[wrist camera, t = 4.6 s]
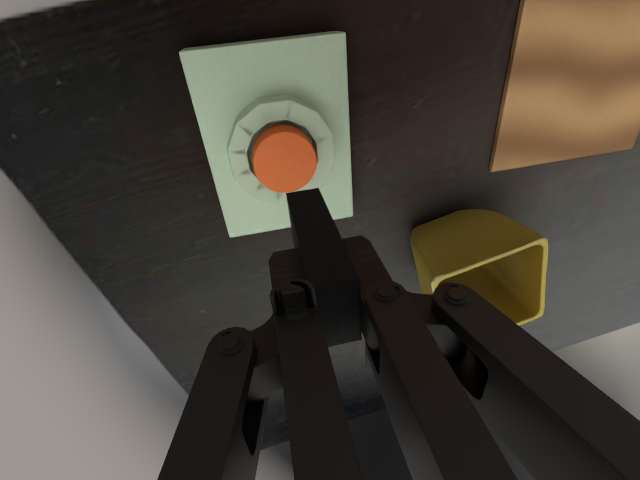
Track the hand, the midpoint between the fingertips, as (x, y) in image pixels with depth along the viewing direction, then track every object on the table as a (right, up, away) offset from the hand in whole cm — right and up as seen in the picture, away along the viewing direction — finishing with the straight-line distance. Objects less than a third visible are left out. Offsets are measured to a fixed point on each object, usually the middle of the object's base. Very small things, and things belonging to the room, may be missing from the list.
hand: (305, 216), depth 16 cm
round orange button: (-2, +5, +7) cm, 9 cm away
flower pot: (+12, -1, +18) cm, 22 cm away
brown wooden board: (+22, +13, +12) cm, 28 cm away
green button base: (-3, +6, +10) cm, 12 cm away
